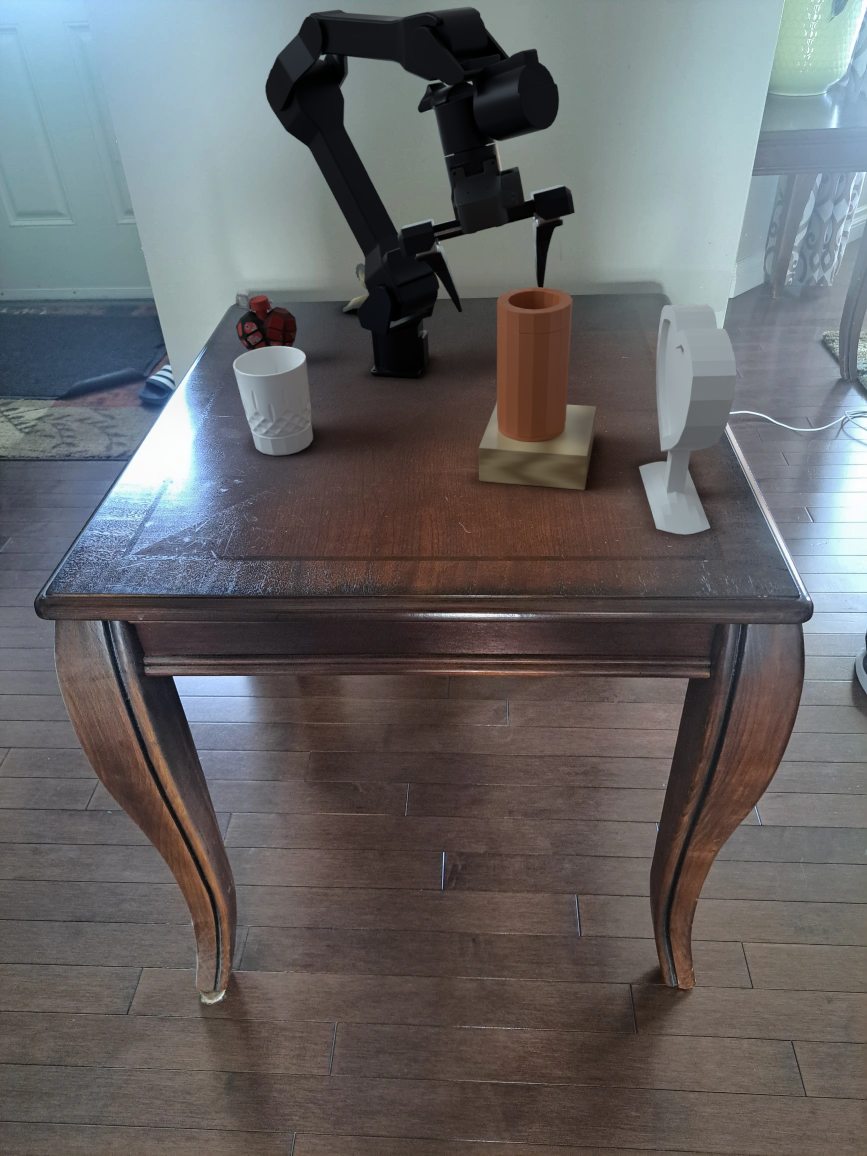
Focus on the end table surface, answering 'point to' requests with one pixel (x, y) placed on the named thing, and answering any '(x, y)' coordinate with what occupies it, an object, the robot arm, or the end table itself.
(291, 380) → the white cup
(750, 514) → the end table surface
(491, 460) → the birch block
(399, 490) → the end table surface
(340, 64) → the robot arm
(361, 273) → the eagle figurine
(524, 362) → the jar
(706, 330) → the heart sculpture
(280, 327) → the grenade
